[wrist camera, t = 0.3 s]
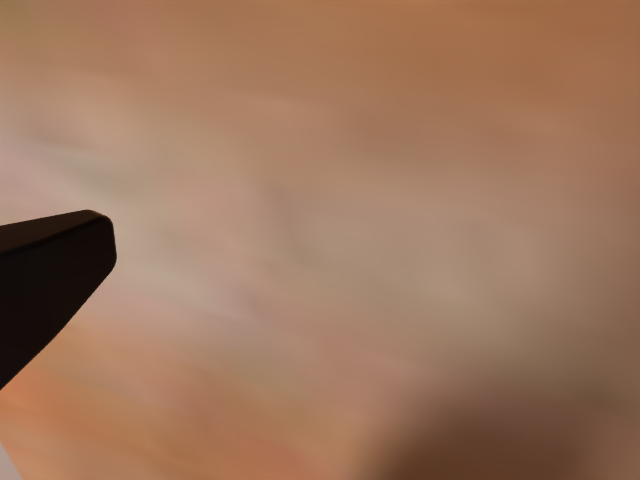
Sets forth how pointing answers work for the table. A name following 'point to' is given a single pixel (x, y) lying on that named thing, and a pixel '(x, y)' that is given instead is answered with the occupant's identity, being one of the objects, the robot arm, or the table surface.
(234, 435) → the table surface
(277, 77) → the table surface
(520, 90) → the table surface
